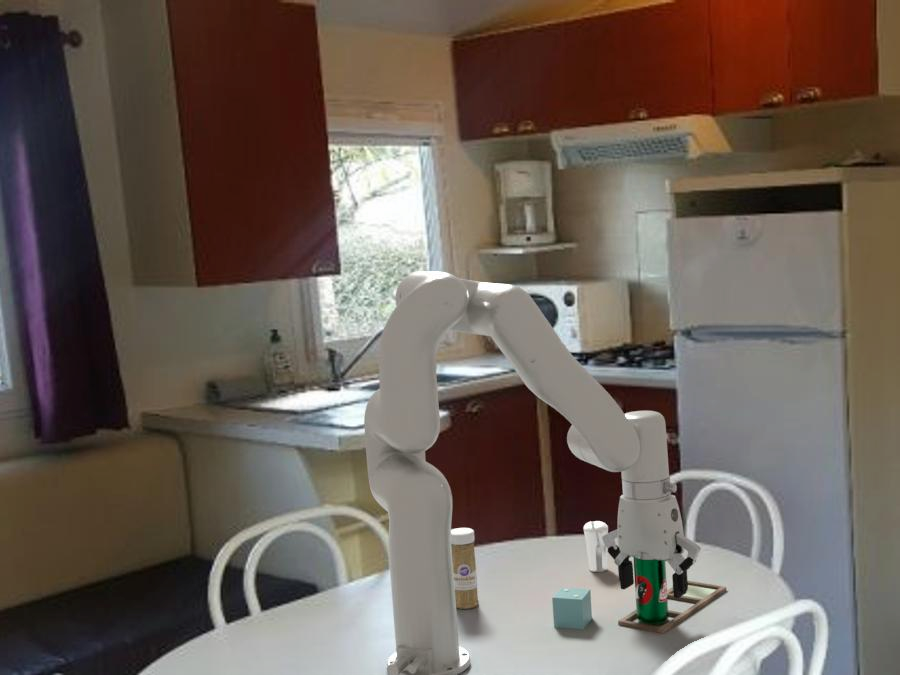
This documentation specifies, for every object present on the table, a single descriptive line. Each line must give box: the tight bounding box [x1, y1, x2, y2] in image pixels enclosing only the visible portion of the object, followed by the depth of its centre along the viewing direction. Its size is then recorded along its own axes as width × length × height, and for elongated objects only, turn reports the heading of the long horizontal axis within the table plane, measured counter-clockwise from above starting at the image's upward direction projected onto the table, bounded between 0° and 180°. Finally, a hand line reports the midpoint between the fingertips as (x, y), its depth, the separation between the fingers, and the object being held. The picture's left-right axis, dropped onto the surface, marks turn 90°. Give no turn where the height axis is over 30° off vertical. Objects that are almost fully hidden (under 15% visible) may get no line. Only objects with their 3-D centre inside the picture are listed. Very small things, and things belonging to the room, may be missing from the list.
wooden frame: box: [617, 580, 727, 634], centre depth 187 cm, size 23×8×1 cm, turn 141°
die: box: [551, 587, 593, 630], centre depth 183 cm, size 5×5×5 cm
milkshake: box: [583, 520, 609, 573], centre depth 209 cm, size 4×5×10 cm
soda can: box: [633, 552, 669, 626], centre depth 181 cm, size 5×5×12 cm
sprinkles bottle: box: [451, 527, 480, 610], centre depth 195 cm, size 5×5×14 cm
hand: (653, 591), depth 181 cm, fingers open, 9 cm apart
